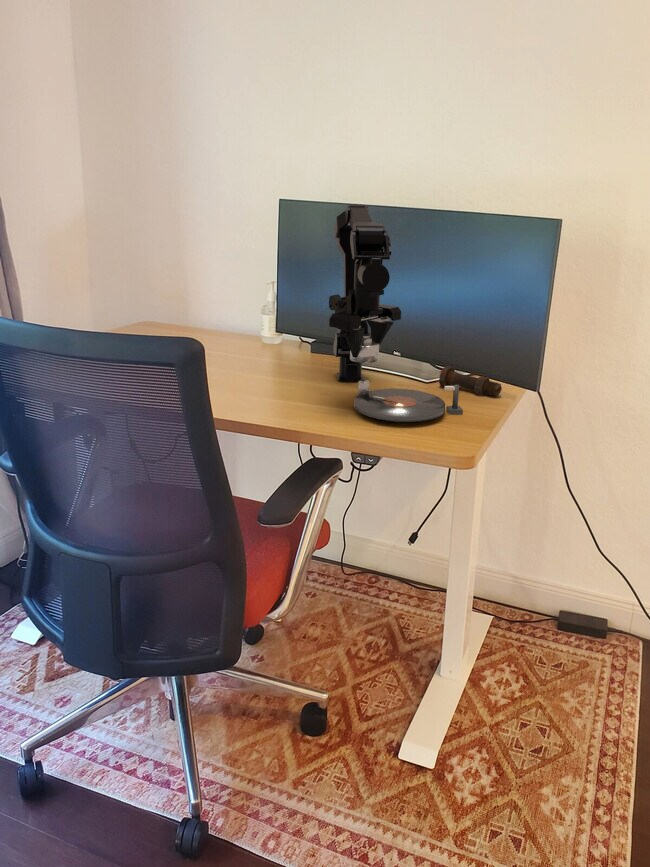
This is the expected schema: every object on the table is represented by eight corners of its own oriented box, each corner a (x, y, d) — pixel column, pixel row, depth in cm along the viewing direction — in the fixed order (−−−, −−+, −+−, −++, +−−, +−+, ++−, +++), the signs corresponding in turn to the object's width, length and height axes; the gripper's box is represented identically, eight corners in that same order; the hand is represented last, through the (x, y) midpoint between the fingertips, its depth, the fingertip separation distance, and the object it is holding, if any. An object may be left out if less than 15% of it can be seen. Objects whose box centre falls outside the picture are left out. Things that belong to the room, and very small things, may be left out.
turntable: (458, 403, 170) (460, 384, 168) (422, 428, 154) (424, 407, 152) (378, 388, 179) (379, 370, 178) (336, 410, 163) (337, 391, 162)
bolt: (495, 405, 179) (441, 391, 188) (505, 391, 181) (450, 378, 190) (492, 388, 175) (437, 374, 184) (502, 374, 177) (447, 361, 186)
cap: (348, 356, 172) (349, 334, 170) (376, 356, 172) (377, 334, 171) (351, 362, 166) (351, 340, 164) (380, 363, 166) (381, 340, 165)
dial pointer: (441, 410, 169) (443, 383, 167) (459, 410, 169) (461, 383, 167) (444, 414, 166) (446, 387, 164) (462, 414, 167) (465, 387, 164)
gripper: (365, 277, 175) (363, 343, 180) (310, 284, 162) (309, 355, 167) (404, 282, 168) (400, 350, 173) (350, 290, 155) (347, 364, 160)
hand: (364, 354), depth 169 cm, fingers closed on cap, 6 cm apart
